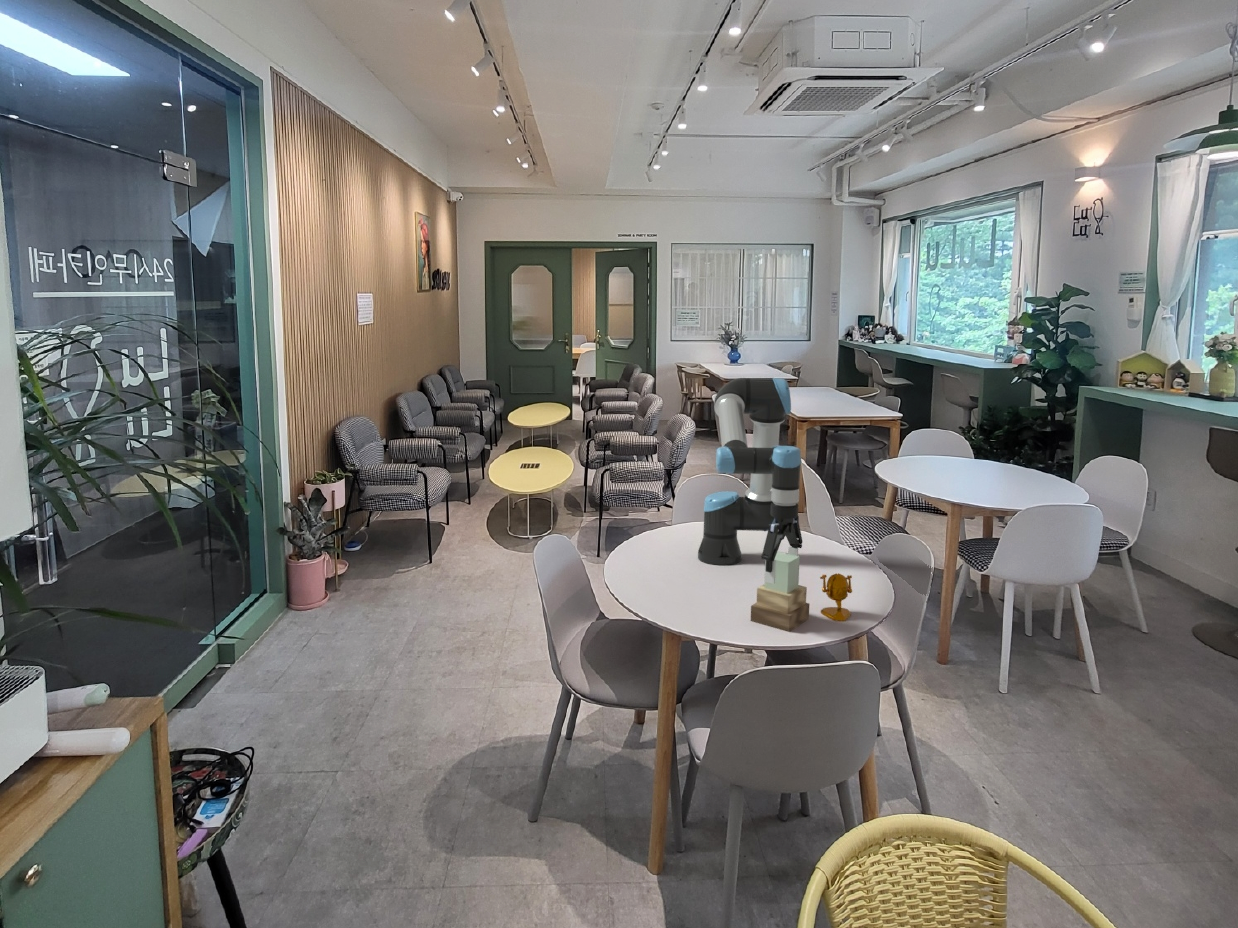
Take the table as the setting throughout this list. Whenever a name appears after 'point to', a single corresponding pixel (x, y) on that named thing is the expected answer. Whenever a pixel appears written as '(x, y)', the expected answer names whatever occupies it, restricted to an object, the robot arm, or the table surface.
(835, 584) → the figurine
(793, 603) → the oak slab
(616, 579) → the table surface
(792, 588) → the sage block
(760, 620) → the walnut slab
